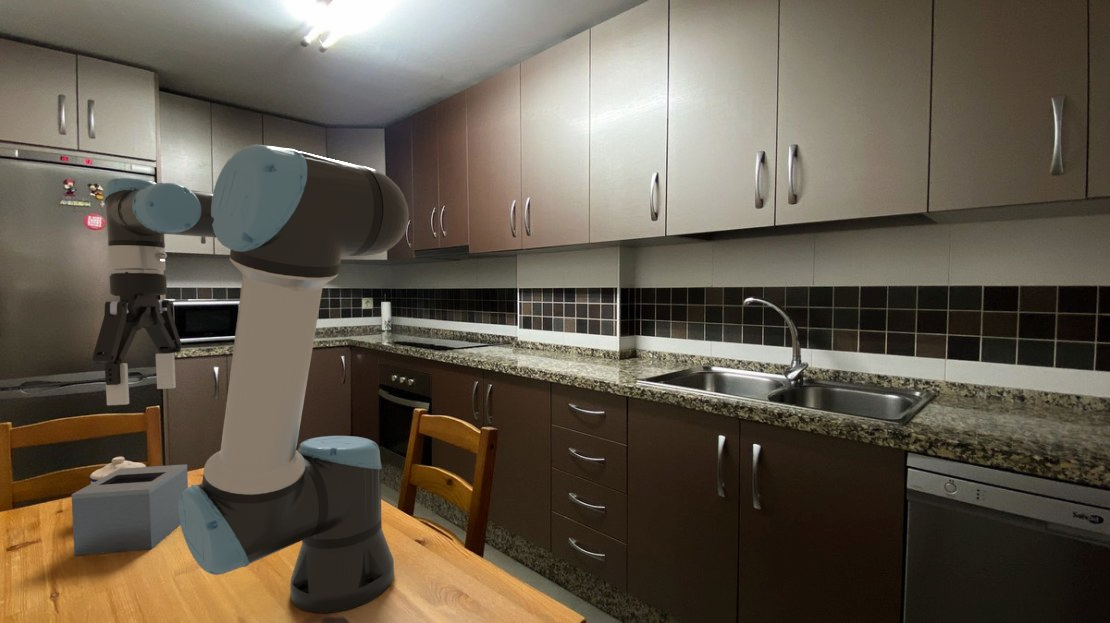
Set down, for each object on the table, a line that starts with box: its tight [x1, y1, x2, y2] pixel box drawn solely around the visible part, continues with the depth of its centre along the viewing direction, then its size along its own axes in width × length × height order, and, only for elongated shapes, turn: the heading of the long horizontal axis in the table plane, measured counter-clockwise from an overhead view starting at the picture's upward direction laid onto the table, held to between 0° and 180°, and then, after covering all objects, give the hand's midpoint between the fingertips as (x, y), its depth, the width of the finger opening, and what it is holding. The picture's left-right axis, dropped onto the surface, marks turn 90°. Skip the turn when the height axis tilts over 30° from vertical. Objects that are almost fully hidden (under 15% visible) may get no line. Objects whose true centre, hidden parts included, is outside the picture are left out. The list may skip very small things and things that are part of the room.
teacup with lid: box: [88, 456, 147, 484], centre depth 107 cm, size 12×9×12 cm
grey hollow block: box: [71, 464, 189, 557], centre depth 96 cm, size 13×12×11 cm
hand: (144, 396), depth 88 cm, fingers open, 13 cm apart
